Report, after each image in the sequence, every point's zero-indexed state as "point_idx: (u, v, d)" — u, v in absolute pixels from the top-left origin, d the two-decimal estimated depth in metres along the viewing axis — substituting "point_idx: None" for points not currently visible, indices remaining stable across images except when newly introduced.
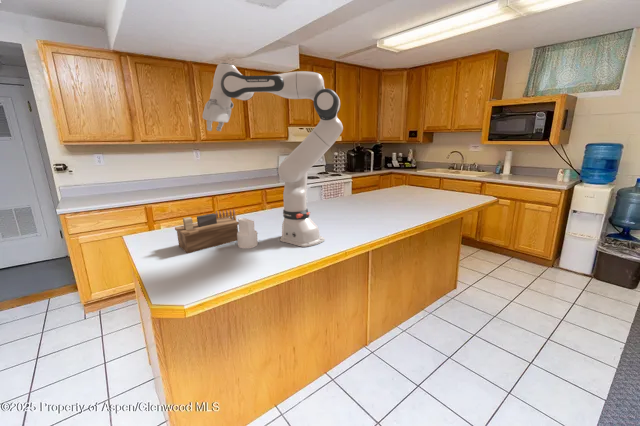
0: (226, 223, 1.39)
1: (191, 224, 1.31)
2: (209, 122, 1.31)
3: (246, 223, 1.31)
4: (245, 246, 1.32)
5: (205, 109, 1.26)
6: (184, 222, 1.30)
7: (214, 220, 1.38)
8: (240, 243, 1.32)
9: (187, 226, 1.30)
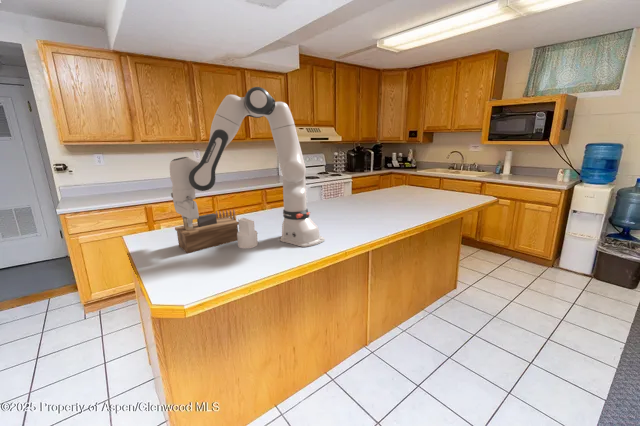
0: (226, 223, 1.39)
1: None
2: None
3: (246, 223, 1.31)
4: (245, 246, 1.32)
5: (191, 210, 1.22)
6: (184, 222, 1.30)
7: (214, 220, 1.38)
8: (240, 243, 1.32)
9: (187, 226, 1.30)
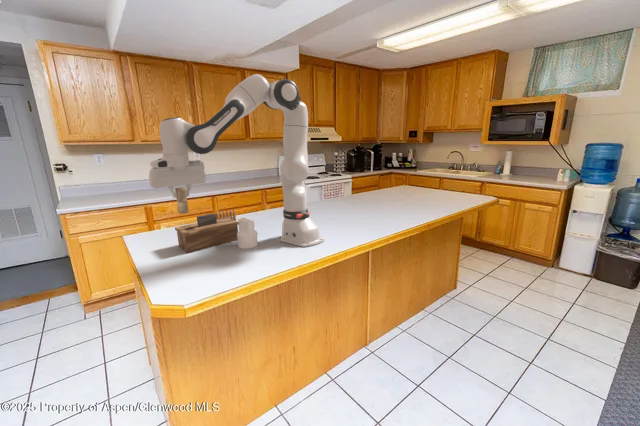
0: (226, 223, 1.39)
1: None
2: None
3: (246, 223, 1.31)
4: (245, 246, 1.32)
5: None
6: (182, 192, 1.15)
7: (214, 220, 1.38)
8: (240, 243, 1.32)
9: None
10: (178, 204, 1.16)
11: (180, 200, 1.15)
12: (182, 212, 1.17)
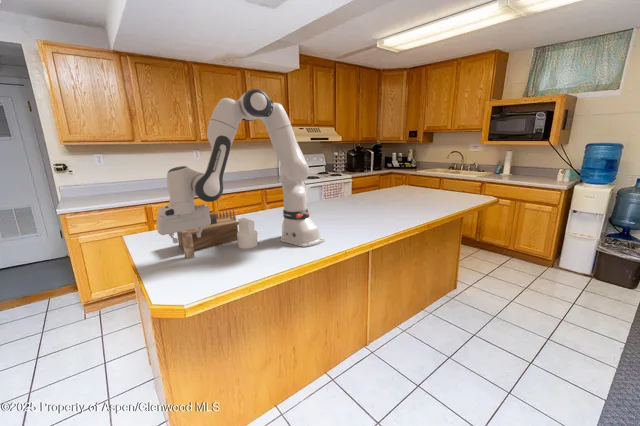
0: (226, 223, 1.39)
1: None
2: None
3: (246, 223, 1.31)
4: (245, 246, 1.32)
5: None
6: (188, 239, 1.20)
7: (214, 220, 1.38)
8: (240, 243, 1.32)
9: None
10: (185, 250, 1.21)
11: (187, 246, 1.20)
12: (188, 257, 1.21)
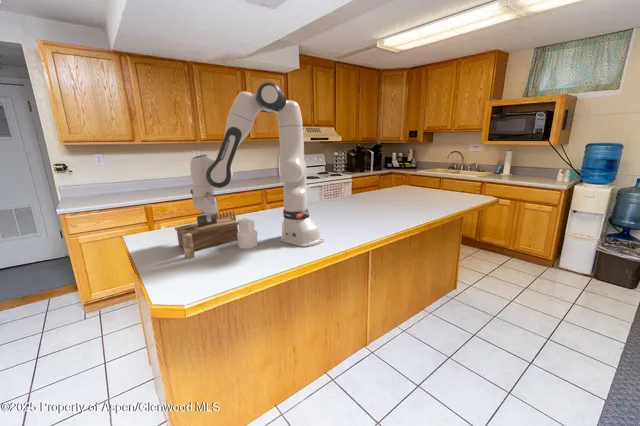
0: (226, 223, 1.39)
1: None
2: None
3: (246, 223, 1.31)
4: (245, 246, 1.32)
5: (211, 205, 1.27)
6: (188, 239, 1.20)
7: (214, 220, 1.38)
8: (240, 243, 1.32)
9: None
10: (185, 250, 1.21)
11: (187, 246, 1.20)
12: (188, 257, 1.21)
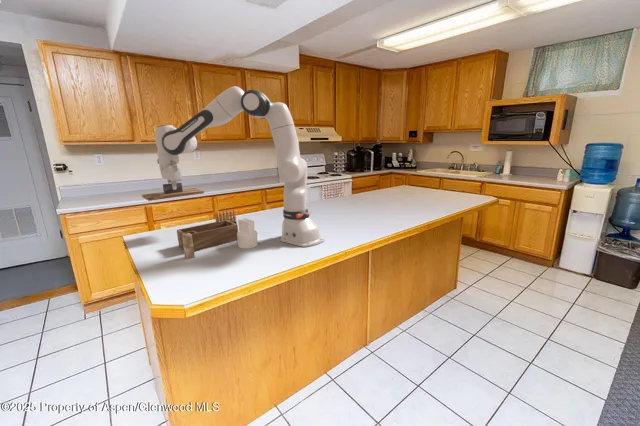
0: (191, 191, 1.46)
1: None
2: (175, 182, 1.41)
3: (246, 223, 1.31)
4: (245, 246, 1.32)
5: (174, 172, 1.34)
6: (188, 239, 1.20)
7: (180, 188, 1.45)
8: (240, 243, 1.32)
9: None
10: (185, 250, 1.21)
11: (187, 246, 1.20)
12: (188, 257, 1.21)
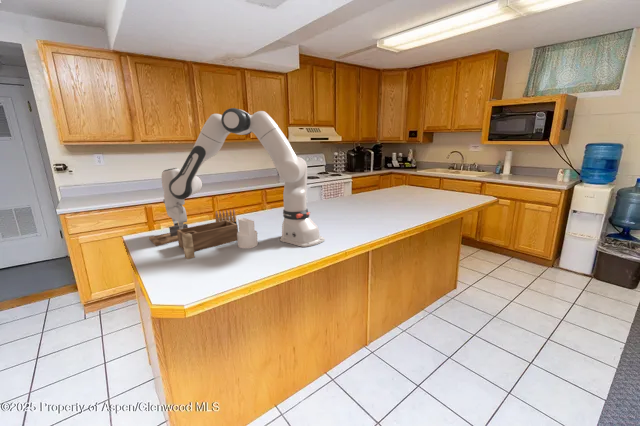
0: None
1: None
2: (181, 222, 1.44)
3: (246, 223, 1.31)
4: (245, 246, 1.32)
5: (180, 214, 1.39)
6: (188, 239, 1.20)
7: None
8: (240, 243, 1.32)
9: None
10: (185, 250, 1.21)
11: (187, 246, 1.20)
12: (188, 257, 1.21)
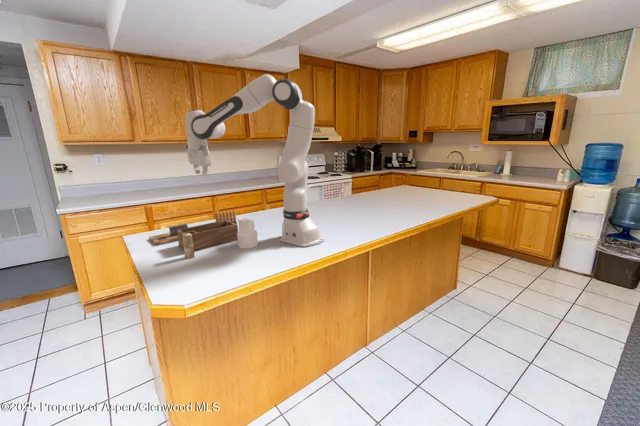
0: None
1: None
2: (206, 167, 1.40)
3: (246, 223, 1.31)
4: (245, 246, 1.32)
5: (205, 157, 1.35)
6: (188, 239, 1.20)
7: None
8: (240, 243, 1.32)
9: None
10: (185, 250, 1.21)
11: (187, 246, 1.20)
12: (188, 257, 1.21)
